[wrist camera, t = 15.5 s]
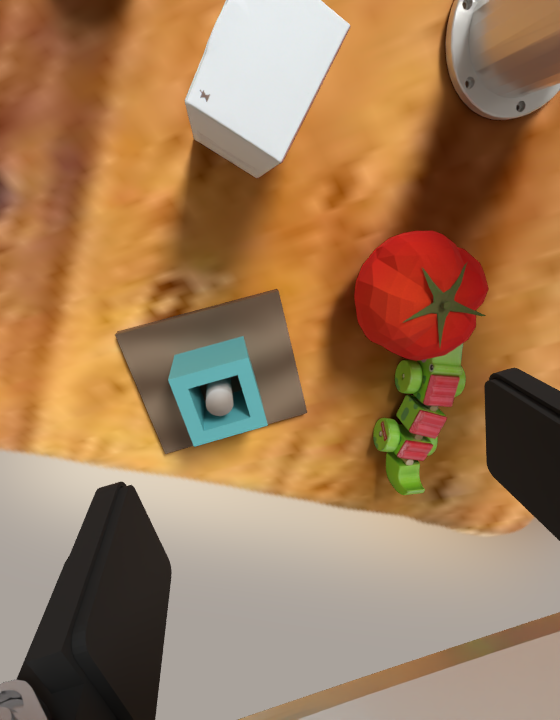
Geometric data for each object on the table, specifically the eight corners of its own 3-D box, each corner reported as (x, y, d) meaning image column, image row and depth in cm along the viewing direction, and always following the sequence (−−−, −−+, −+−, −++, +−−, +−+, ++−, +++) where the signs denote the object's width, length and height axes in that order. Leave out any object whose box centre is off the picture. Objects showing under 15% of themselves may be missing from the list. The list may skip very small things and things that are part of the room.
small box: (258, 180, 35) (281, 167, 23) (192, 139, 33) (180, 102, 21) (303, 88, 33) (354, 22, 21) (235, 39, 31) (249, -64, 19)
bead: (174, 355, 39) (168, 379, 33) (243, 336, 39) (248, 357, 34) (196, 414, 41) (194, 446, 36) (260, 396, 42) (267, 425, 36)
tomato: (455, 314, 43) (524, 345, 34) (359, 356, 43) (400, 398, 34) (432, 206, 38) (503, 206, 29) (324, 252, 38) (360, 268, 29)
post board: (117, 331, 38) (97, 357, 32) (276, 288, 39) (289, 305, 33) (166, 448, 43) (158, 490, 37) (305, 408, 44) (320, 443, 38)
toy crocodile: (413, 313, 42) (444, 330, 37) (466, 325, 44) (503, 342, 38) (359, 466, 49) (378, 500, 43) (407, 471, 50) (431, 504, 45)
